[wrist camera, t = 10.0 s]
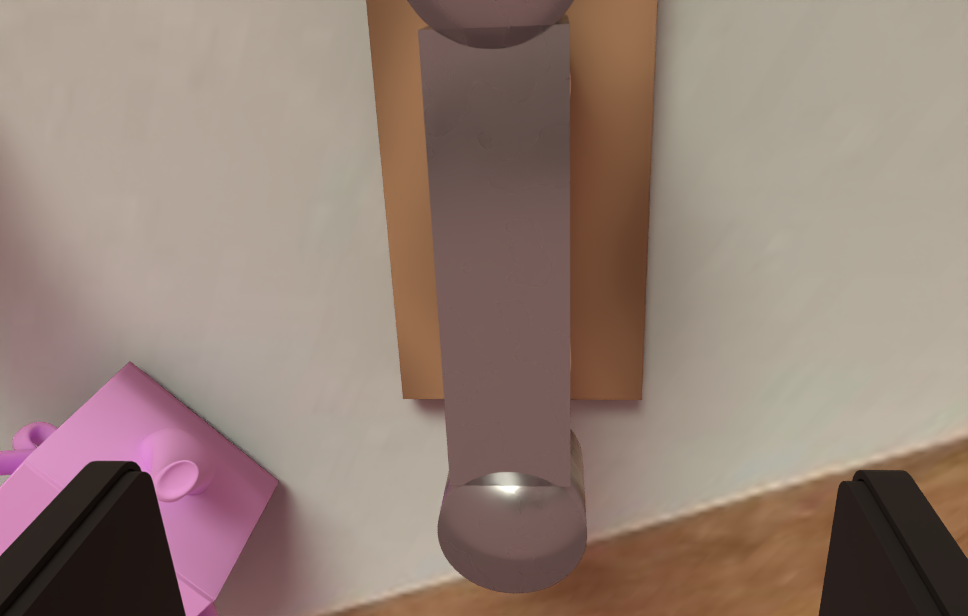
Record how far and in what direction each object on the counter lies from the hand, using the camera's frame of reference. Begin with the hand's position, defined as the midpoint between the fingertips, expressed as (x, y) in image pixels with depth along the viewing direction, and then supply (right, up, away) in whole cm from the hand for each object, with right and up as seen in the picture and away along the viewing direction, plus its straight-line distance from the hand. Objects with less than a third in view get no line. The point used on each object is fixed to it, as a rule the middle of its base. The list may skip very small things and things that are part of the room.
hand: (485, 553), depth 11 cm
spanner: (+1, +6, +14) cm, 15 cm away
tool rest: (+1, +8, +21) cm, 22 cm away
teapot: (-15, -4, +28) cm, 32 cm away
